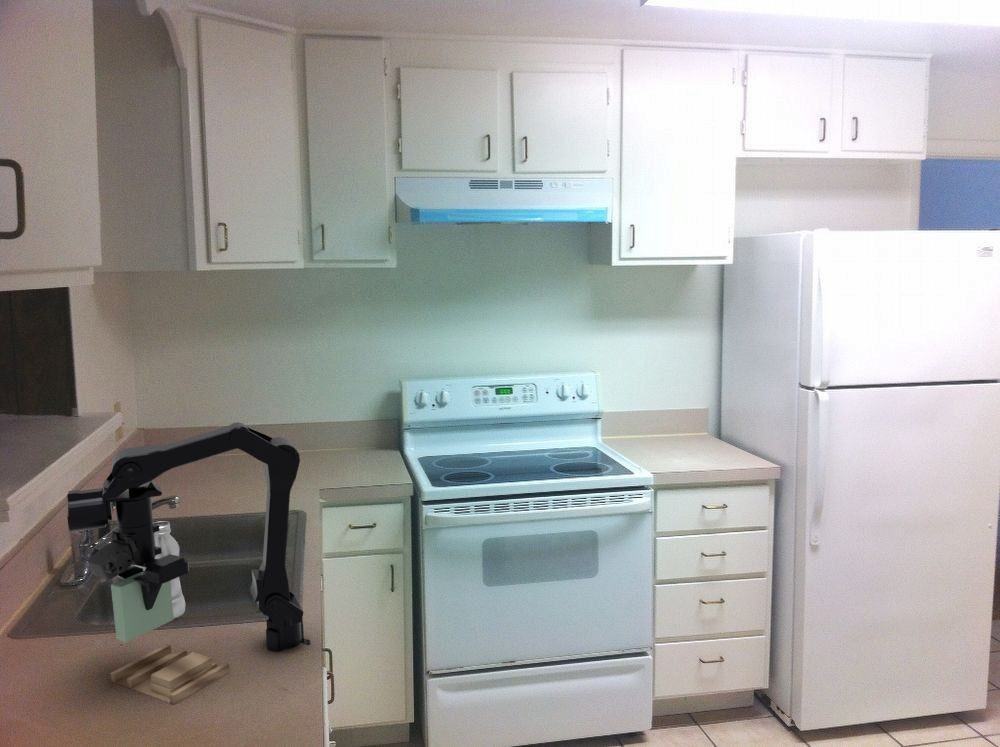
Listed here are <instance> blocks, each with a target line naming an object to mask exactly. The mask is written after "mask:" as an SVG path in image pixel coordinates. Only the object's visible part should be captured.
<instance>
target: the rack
mask: <svg viewBox="0 0 1000 747" xmlns="http://www.w3.org/2000/svg"><path fill="white" fill-rule="evenodd" d="M187 655H188V650H187V649H185V648H183V649H181V650H179V651H177V652H175V653H173V652H172V645H171V644H168V643H166V644H164V645H162V646H160V647H159V648H156V649H154V650H152V651H150V652H148V653H147V654H144V655H143V656H140V657H139V658H137V659H135V660H133V661H131V662H129V663H126V664H125V665H123V666H121V667H119V668H117V669H115V670H113V671H112V672H110V675H109V676H110V681H111V682H112V683H115V684H118V685H120V686H124V687H126V688H128V689H131V690H133V691H137V692H140V693H142V694H146V695H148V696H150V697H153V698H156V699H158V700H161V701H164V702H167V703H168V704H172V705H177V704H178V703H180V702H182V701H183V700H185V699H186V698H189V697H190V696H191V695H193V694H194V693H197V692H198V691H199V690H202V689H203V688H205V687H207V686H208V685H210V684H212V683H214V682H215V681H217V680H218V679H220V678H222V677H224V676H226V675H227V674H229V673H230V671H231V669H230V663H228V662H223V663H222V664H220V665H217V667H216V668H215V669H213V670H211V671H209V672H208V673H206V674H204V675H202V676H201V677H199V678H197V679H195V680H194V681H192V682H190V683H188V684H187V685H185V686H183V687H181V688H180V689H178V690H176V691H174V692H173V693H171V694H169V695H170V698H169V697H166V696H163V695H160V694H158V693H155V692H152V691H151V687H150V683H151V682H152V680H151V674H153V673H155V672H157V671H159V670H161V669H163V668H164V667H166V666H168V665H170V664H172V663H174V662H176V661H177V660H179V659H181V658H183V657H185V656H187Z"/></svg>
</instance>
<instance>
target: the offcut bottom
mask: <svg viewBox="0 0 1000 747" xmlns="http://www.w3.org/2000/svg"><path fill="white" fill-rule="evenodd" d="M216 667H218V665H217V663H216V662H213V661H212V666H211V667H209V668H208V669H206V670H204V671H202V672H200V673H199V674H197V675H195V676H193V677H192V678H190V679H188V680H186V681H185V682H183V683H181V684H179V685H178V686H176V687H174V688H172V689H171V690H170V689H167V688H164V687H162V686H159V685H156V684H153V683H152V682H151V683H150V687H151V691H152V692H155V693H158V694H160V695H163V696H166V697H169V698H170V695H169V694H171V693H173V692H174V691H176V690H178V689H180V688H181V687H183V686H185V685H187V684H188V683H190V682H192V681H194V680H195V679H197V678H199V677H201V676H202V675H204V674H206V673H208V672H209V671H211V670H213V669H215V668H216Z"/></svg>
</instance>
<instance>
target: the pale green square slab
mask: <svg viewBox="0 0 1000 747" xmlns="http://www.w3.org/2000/svg"><path fill="white" fill-rule="evenodd" d="M140 575H142V572H140V573H138V574H135V575H133V576H131V577H128V578H126V579H123V580H121V579H120V580H118V581H115V582H114V583H112V584H110V588H111V591H110V592H111V598H112V608H113V609H112V611H113V618H114V628H115V634H116V635H115V637H116V641H120V642H123V643H126V644H127V643H129V642H131V641H133V640H135V639H137V638H140V637H142V636H143V635H145V634H147V633H149V632H151V631H153V630H155V629H158V628H159V627H162V626H164V625H166V624H168V623H170V622H172V621H174V620H175V619H174V617H173V606H172V595H171V584H170V581H168V582H166V583H163V584H162V586H161V588H160V591H159V593H158V596H157V598H156V601H155V603H154V606H153V608H152V609H150V610H146V608H145V604H144V600H143V594H142V589H141V584H140V583H138V582H137V581H135V580H134V579H133V578H135V577H138V576H140Z"/></svg>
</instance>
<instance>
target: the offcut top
mask: <svg viewBox="0 0 1000 747" xmlns="http://www.w3.org/2000/svg"><path fill="white" fill-rule="evenodd" d="M212 662H213V659H212V657H210V656H207V655H204V654H201V653H198V652H195V651H192V652H191V653H188V654H187V656H185V657H183V658H181V659H179V660H177V661H176V662H174V663H172V664H170V665H168V666H166V667H164V668H163V669H161V670H159V671H157V672H155V673H153V674H151V680H152V683H153V684H156V685H159V686H162V687H164V688H167V689H170V690H171V689H172V688H174V687H176V686H178V685H179V684H181V683H183V682H185V681H186V680H188V679H190V678H192V677H193V676H195V675H197V674H199V673H200V672H202V671H204V670H206V669H208V668H209V667H211V666H212Z"/></svg>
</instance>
